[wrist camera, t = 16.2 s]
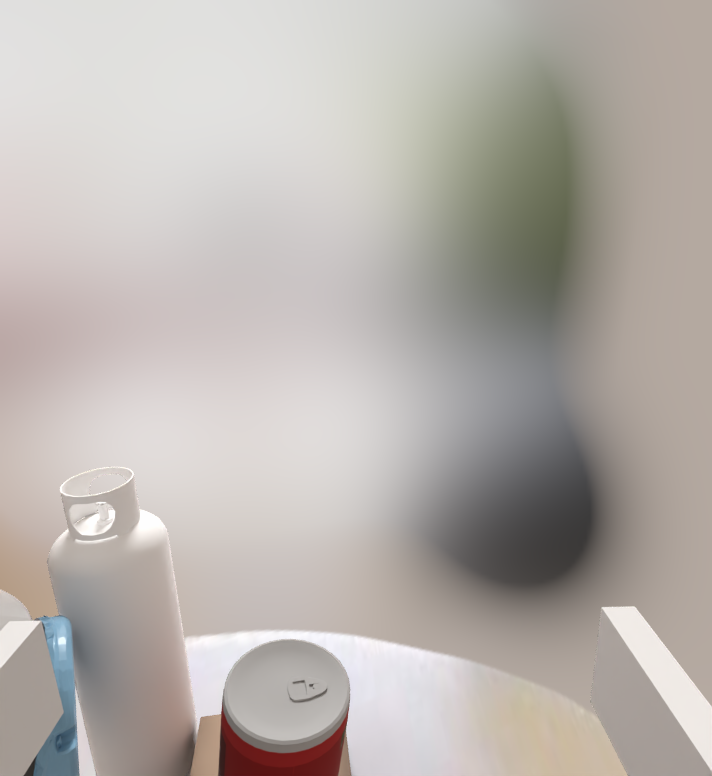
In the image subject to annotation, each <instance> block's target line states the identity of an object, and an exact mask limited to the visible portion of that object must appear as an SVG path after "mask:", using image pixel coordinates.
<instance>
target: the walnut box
mask: <svg viewBox="0 0 712 776" xmlns="http://www.w3.org/2000/svg"><path fill="white" fill-rule="evenodd" d="M220 728H221V714H220V715H213V716H206V717H201V719H200V725H199V730H198V735H197V741H196V746H195V751H194V757H193V762H192V767H191V773H190V776H218V769H219V749H220ZM338 776H351V770H350V762H349V754H348V745H347V737H346V732H345V738H344V744H343V750H342V756H341V762H340V768H339V774H338Z"/></svg>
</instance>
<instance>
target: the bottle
mask: <svg viewBox="0 0 712 776" xmlns="http://www.w3.org/2000/svg"><path fill="white" fill-rule="evenodd" d="M108 474H120V475H122V476H123V477H124V478H125V479H126V481H127V482H126V483H125V484H123V485H122V486H120V487H118V488H115V489H112V490H110V491H107V492H103V493H100V494H95V495H90V485H91V483H92V482H93V480H94V479H95V478H96V477H98V476H101V475H108ZM60 492H61V497H62V502H63V506H64V511H65V516H66V520H67V524H68V529H67V530H66V531H65V532H64V533H63V534H62V535H61V536H60V537H59V538H58V539H57V540H56V541H55V542H54V544H53V546H52V548H51V550H50V553H49V556H48V560H47V564H48V570H49V574H50V578H51V582H52V587H53V591H54V595H55V600H56V604H57V608H58V612H59V616H65V617H67V618H68V619H69V620H70V622H71V625H72V642H73V661H74V680H75V685H76V690H77V694H78V698H79V703H80V707H81V711H82V715H83V720H84V724H85V728H86V733H87V737H88V741H89V745H90V750H91V754H92V758H93V763H94V767H95V771H96V775H97V776H185V775H186V774H187V772H188V771H189V769H190V767H191V766H192V762H193V757H194V751H195V746H196V741H197V735H198V725H197V718H196V712H195V705H194V699H193V692H192V686H191V679H190V673H189V666H188V660H187V653H186V647H185V640H184V634H183V628H182V621H181V615H180V608H179V602H178V595H177V589H176V582H175V576H174V570H173V563H172V556H171V550H170V543H169V537H168V531H167V529H166V527H165V526H164V524H163V523H162V521H161V520H160V519H159V518H158V517H157V516H155V515H153V514H151V513H148V512H146V511H144V510H140V508H139V502H138V496H137V490H136V484H135V479H134V473H133V472H132V470H130V469H128V468H123V467H106V468H99V469H94V470H90V471H86V472H84V473H81V474H78V475H76V476H74V477H72V478H70V479H68V480H67V481H66V482H64V483H63V484H62V486H61V487H60ZM108 508H113V509H108ZM96 511H98V512H97V513H95V512H96ZM83 517H85V518H84V519H82V518H83ZM80 519H82V520H80ZM78 520H80V521H79V522H77V521H78ZM76 522H77V523H76ZM190 773H191V769H190V771H189V772H188V774H187V775H186V776H190Z"/></svg>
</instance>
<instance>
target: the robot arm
mask: <svg viewBox="0 0 712 776" xmlns="http://www.w3.org/2000/svg"><path fill="white" fill-rule="evenodd" d="M590 702H591V703H592V705H593V708H594V709H595V712H596V714H597V715H598V717H599V719H600V721H601V723H602V725H603V727H604V729H605V731H606V733H607V735H608V737H609V739H610V741H611V743H612V745H613V747H614V749H615V751H616V753H617V755H618V757H619V759H620V761H621V763H622V765H623V767H624V769H625V771H626V773H627V775H628V776H712V707H711V705H710V704H709V703H708V702H707V700H706V699H705V698H704V696H703V695H702V694H701V692H700V691H699V690H698V689H697V687H696V686H695V684H694V683H693V682H692V681H691V679H690V678H689V677H688V675H687V674H686V673H685V671H684V670H683V669H682V667H681V666H680V665H679V664H678V662H677V661H676V660H675V658H674V657H673V656H672V654H671V653H670V652H669V651H668V649H667V648H666V647H665V646H664V644H663V643H662V641H661V640H660V639H659V638H658V636H657V635H656V634H655V632H654V631H653V630H652V629H651V627H650V626H649V624H648V623H647V622H646V620H645V619H644V618H643V617H642V615H641V614H640V613H639V611H638V610H637V609H636V607H602V608H601V616H600V625H599V633H598V641H597V649H596V658H595V667H594V676H593V683H592V692H591V700H590ZM0 776H79V760H78V742H77V721H76V700H75V680H74V661H73V642H72V625H71V622H70V620H69V619H68V618H67V617H65V616H55V617H47V616H44V617H41V618H36V619H35V620H34V621H33V620H32V618H31V616H30V614H29V612H28V610H27V609H26V607H25V606H24V605H23V604H22V602H20V601H19V600H18V599H17V598H15V597H14V596H12V595H10V594H9V593H7V592H5V591H3V590H0Z"/></svg>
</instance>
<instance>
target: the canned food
mask: <svg viewBox="0 0 712 776" xmlns="http://www.w3.org/2000/svg"><path fill="white" fill-rule="evenodd" d="M349 703H350V684H349V678H348V676H347V673H346V671H345V669H344V667H343V666H342V664H341V662H340V661H339V660H338V659H337V658H336V657H335V656H334V655H333V654H332V653H330V652H329V651H328V650H326V649H325V648H323V647H321V646H319V645H317V644H314V643H311V642H307V641H304V640H296V639H281V640H275V641H270V642H267V643H264V644H261V645H259V646H257V647H255V648H253V649H251V650H250V651H248V652H247V653H246V654H244V655H243V656H242V657H241V658H240V659H239V660H238V661H237V662H236V663H235V664H234V666H233V667H232V669H231V670H230V672H229V674H228V677H227V679H226V682H225V688H224V691H223V699H222V712H221V728H220V749H219V769H218V776H338V774H339V768H340V762H341V756H342V750H343V744H344V738H345V732H346V726H347V719H348V711H349Z"/></svg>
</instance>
